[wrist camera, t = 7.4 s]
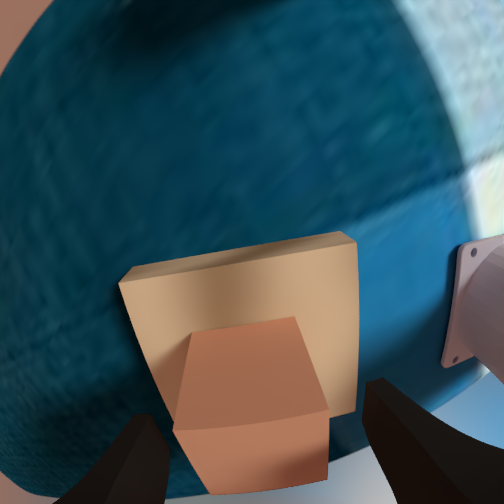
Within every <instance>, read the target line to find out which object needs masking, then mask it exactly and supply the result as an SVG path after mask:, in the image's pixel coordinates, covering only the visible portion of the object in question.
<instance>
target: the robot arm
mask: <svg viewBox="0 0 504 504" xmlns="http://www.w3.org/2000/svg"><path fill="white" fill-rule="evenodd" d="M472 249H473V250H472ZM471 251H472V253H471ZM473 356H476V357H477V358H478V359H479V360H480V361H481V362H482V363H483V364H484V365H485V366H486V367H487V368H488V369H489V370H490V371H491V372H492V373H493V374H494V375H495V376H496V377H497V378H498V379H499V380H500V381H501V382H502V383H503V384H504V234H502V235H497V236H493V237H489V238H485V239H480V240H476V241H471V242H467V243H464V244H462V245H461V246H460V247H459V249H458V253H457V265H456V276H455V285H454V293H453V300H452V307H451V314H450V320H449V325H448V331H447V336H446V341H445V346H444V350H443V355H442V359H441V365H442V366H443V367H444V368H449V367H451V366H453V365H456V364H458V363H460V362H462V361H465V360H467V359H469V358H471V357H473ZM362 423H363V426H364V429H365V432H366V435H367V438H368V441H369V443H370V446H371V448H372V450H373V452H374V454H375V456H376V458H377V460H378V462H379V464H380V466H381V468H382V470H383V472H384V474H385V476H386V478H387V480H388V482H389V485H390V486H391V489H392V491H393V493H394V496H395V498H396V501H397V504H504V449H501V448H498V447H495V446H492V445H489V444H486V443H484V442H481V441H479V440H476V439H474V438H472V437H470V436H468V435H465V434H464V433H462V432H460V431H458V430H456V429H454V428H453V427H451V426H449V425H448V424H446V423H444V422H443V421H441V420H439V419H438V418H436V417H435V416H433V415H432V414H431V413H429V412H428V411H426V410H425V409H423V408H422V407H421V406H419V405H418V404H416V403H415V402H414V401H412V400H411V399H410V398H409V397H407V396H406V395H405V394H403V393H402V392H401V391H400V390H398V389H397V388H396V387H395V386H393V385H392V384H391V383H390V382H388V381H387V380H386V379H384V378H379V379H376V380H373V381H369V382H366V390H365V399H364V408H363V415H362ZM169 467H170V448H169V446H168V444H167V442H166V441H165V439H164V437H163V435H162V434H161V432H160V430H159V428H158V426H157V424H156V423H155V421H154V419H153V417H152V415H151V414H135V415H134V416H133V417H132V419H131V420H130V421H129V422H128V424H127V425H126V426H125V428H124V429H123V430H122V431H121V433H120V434H119V435H118V437H117V438H116V439H115V441H114V442H113V443H112V444H111V446H110V447H109V448H108V449H107V451H106V452H105V453H104V454H103V456H102V457H101V458H100V459H99V460H98V462H97V463H96V464H95V465H94V466H93V467H92V468H91V469H90V471H89V472H88V473H87V474H86V475H85V476H84V477H83V478H82V479H81V480H80V481H79V482H78V483H77V484H76V485H75V486H74V487H73V488H72V489H70V490H69V491H68V492H67V493H66V494H65V495H63V496H62V497H61V498H60V499H58V500H57V501H56V502H54V503H53V504H164V502H165V496H166V490H167V484H168V478H169Z"/></svg>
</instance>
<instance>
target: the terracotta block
mask: <svg viewBox="0 0 504 504" xmlns="http://www.w3.org/2000/svg"><path fill="white" fill-rule="evenodd" d="M173 432H174V434H175V436H176V438H177V440H178V441H179V443H180V445H181V447H182V449H183V450H184V452H185V454H186V456H187V457H188V459H189V461H190V462H191V464H192V466H193V467H194V469H195V471H196V472H197V474H198V476H199V477H200V479H201V480H202V482H203V484H204V485H205V487H206V488H207V490H208V491H209V493H210V494H211V495H226V494H239V493H251V492H260V491H268V490H275V489H281V488H288V487H293V486H299V485H304V484H309V483H314V482H318V481H323V480H327V476H328V454H329V407H328V404H327V402H326V399H325V396H324V393H323V391H322V388H321V385H320V383H319V380H318V377H317V374H316V372H315V369H314V366H313V364H312V361H311V358H310V356H309V353H308V350H307V348H306V345H305V342H304V340H303V337H302V334H301V332H300V329H299V326H298V324H297V321H296V318H295V316H293V317H288V318H282V319H277V320H271V321H265V322H260V323H254V324H247V325H241V326H235V327H228V328H222V329H215V330H207V331H200V332H193V333H192V335H191V339H190V344H189V349H188V354H187V358H186V363H185V368H184V373H183V378H182V383H181V388H180V394H179V399H178V404H177V409H176V415H175V420H174V426H173Z"/></svg>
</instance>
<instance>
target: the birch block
mask: <svg viewBox="0 0 504 504" xmlns="http://www.w3.org/2000/svg"><path fill="white" fill-rule="evenodd" d="M119 287H120V290H121V293H122V296H123V299H124V302H125V305H126V308H127V311H128V314H129V317H130V320H131V322H132V325H133V328H134V331H135V333H136V336H137V339H138V341H139V344H140V346H141V349H142V351H143V354H144V356H145V359H146V361H147V364H148V366H149V369H150V371H151V373H152V376H153V378H154V380H155V383H156V385H157V387H158V389H159V392H160V394H161V396H162V398H163V400H164V402H165V405H166V407H167V409H168V411H169V413H170V415H171V417H172V419H173V421H174V420H175V415H176V409H177V404H178V399H179V394H180V388H181V383H182V378H183V373H184V368H185V363H186V358H187V354H188V349H189V344H190V339H191V335H192V333H193V332H200V331H207V330H215V329H222V328H228V327H235V326H241V325H247V324H254V323H260V322H265V321H271V320H277V319H282V318H288V317H293V316H295V318H296V321H297V324H298V326H299V329H300V332H301V334H302V337H303V340H304V342H305V345H306V348H307V350H308V353H309V356H310V358H311V361H312V364H313V366H314V369H315V372H316V374H317V377H318V380H319V383H320V385H321V388H322V391H323V393H324V396H325V399H326V402H327V404H328V407H329V418H331V417H335V416H339V415H343V414H347V413H351V412H354V411H355V407H356V394H357V377H358V351H359V284H358V258H357V242H355V241H354V240H353V239H351V238H350V237H348V236H347V235H345V234H344V233H342V232H341V231H338V232H332V233H326V234H320V235H314V236H308V237H302V238H296V239H290V240H284V241H279V242H273V243H267V244H261V245H255V246H249V247H244V248H238V249H232V250H226V251H221V252H215V253H209V254H203V255H198V256H192V257H186V258H180V259H175V260H169V261H163V262H158V263H152V264H146V265H141V266H135V267H132V268H131V269H130V271H129V272H128V273H127V274H126V275H125V276H124V277H123V278H122V280H121V281H120V282H119Z"/></svg>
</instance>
